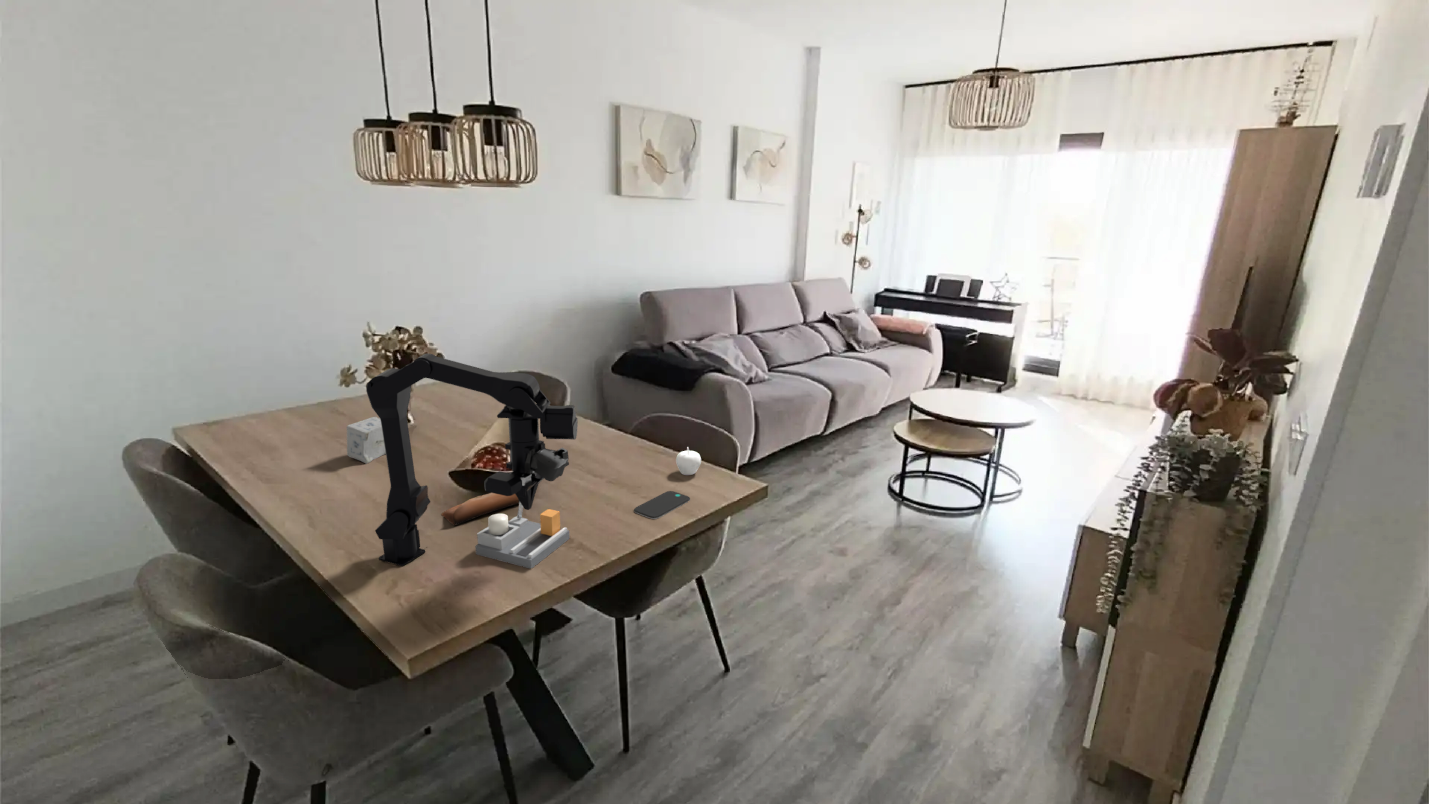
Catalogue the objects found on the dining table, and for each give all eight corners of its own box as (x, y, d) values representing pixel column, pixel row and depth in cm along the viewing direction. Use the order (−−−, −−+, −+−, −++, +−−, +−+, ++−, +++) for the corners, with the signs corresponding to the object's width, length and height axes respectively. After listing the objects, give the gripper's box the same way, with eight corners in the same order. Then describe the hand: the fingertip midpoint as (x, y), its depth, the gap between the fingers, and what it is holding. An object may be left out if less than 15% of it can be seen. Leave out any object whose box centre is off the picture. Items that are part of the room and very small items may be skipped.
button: (500, 536, 138) (499, 523, 137) (484, 532, 139) (483, 520, 138) (512, 528, 141) (511, 515, 140) (497, 524, 143) (496, 512, 142)
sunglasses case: (506, 492, 168) (512, 476, 164) (520, 513, 165) (526, 496, 161) (437, 514, 155) (442, 497, 151) (451, 537, 152) (456, 520, 148)
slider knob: (552, 536, 143) (551, 517, 141) (540, 533, 144) (540, 514, 142) (560, 530, 145) (559, 511, 144) (548, 527, 146) (548, 508, 145)
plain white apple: (670, 474, 183) (671, 447, 181) (683, 466, 189) (684, 440, 187) (692, 479, 180) (693, 452, 178) (704, 471, 186) (705, 445, 184)
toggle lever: (519, 519, 147) (523, 495, 147) (513, 517, 148) (517, 494, 148) (524, 518, 149) (528, 495, 149) (518, 517, 150) (522, 494, 150)
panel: (531, 568, 134) (530, 549, 133) (475, 554, 139) (474, 535, 138) (569, 538, 147) (569, 520, 145) (517, 525, 151) (516, 508, 150)
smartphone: (692, 497, 168) (654, 518, 156) (692, 500, 168) (654, 521, 157) (669, 489, 172) (631, 509, 161) (669, 492, 173) (631, 512, 161)
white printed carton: (369, 465, 182) (364, 429, 179) (346, 460, 185) (342, 425, 182) (397, 453, 191) (393, 419, 188) (375, 448, 194) (371, 415, 191)
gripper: (530, 460, 120) (533, 537, 124) (584, 430, 136) (585, 498, 141) (480, 450, 123) (485, 525, 128) (538, 422, 140) (541, 489, 145)
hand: (527, 508), depth 135 cm, fingers closed
